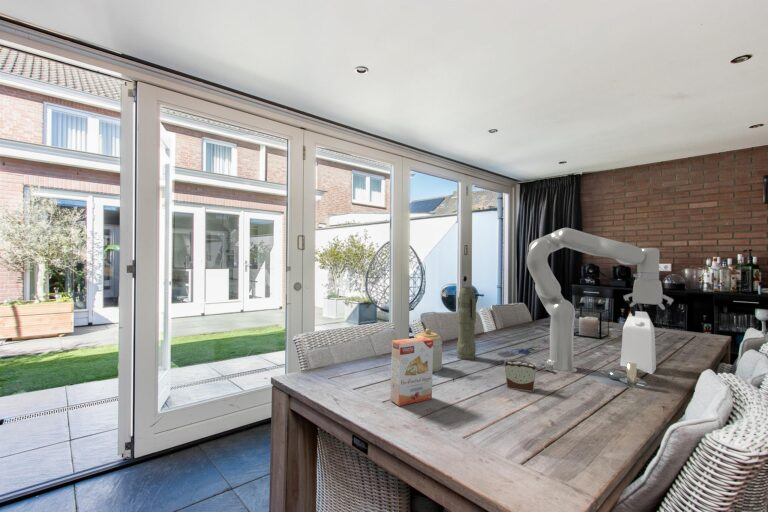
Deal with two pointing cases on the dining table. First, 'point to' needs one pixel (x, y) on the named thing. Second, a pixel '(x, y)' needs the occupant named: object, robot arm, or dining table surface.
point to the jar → (434, 348)
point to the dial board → (614, 380)
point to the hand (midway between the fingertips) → (647, 317)
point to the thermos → (466, 324)
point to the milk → (639, 342)
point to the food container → (520, 374)
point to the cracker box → (411, 370)
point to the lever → (621, 375)
